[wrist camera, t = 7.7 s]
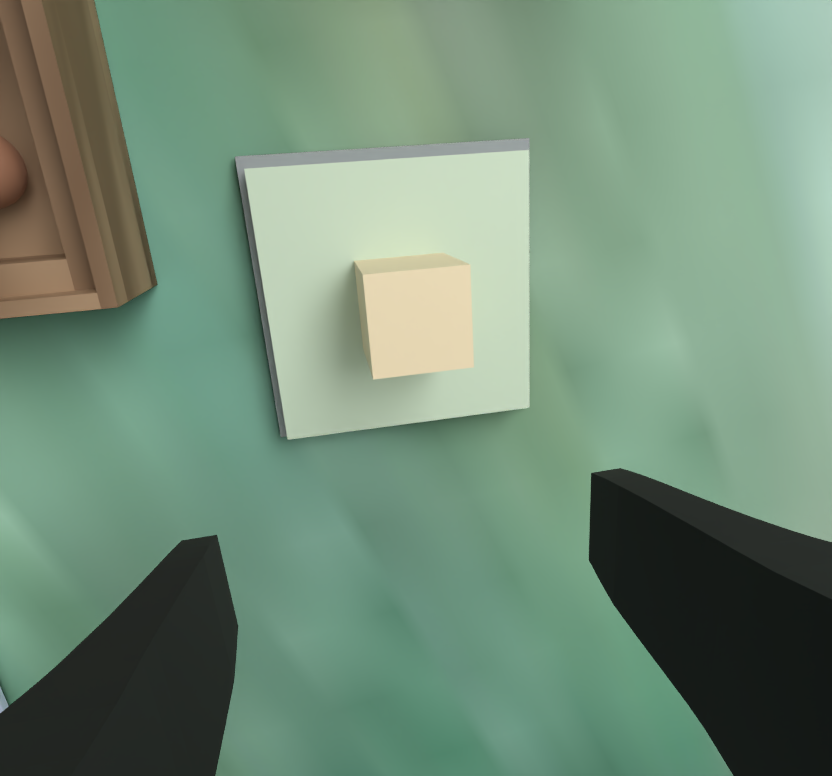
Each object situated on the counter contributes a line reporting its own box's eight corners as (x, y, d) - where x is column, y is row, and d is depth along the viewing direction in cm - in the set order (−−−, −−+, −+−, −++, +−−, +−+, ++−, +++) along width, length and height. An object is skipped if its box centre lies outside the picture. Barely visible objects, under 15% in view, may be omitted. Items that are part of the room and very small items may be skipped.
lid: (288, 430, 19) (282, 486, 16) (247, 170, 17) (228, 162, 13) (521, 400, 21) (567, 445, 17) (519, 151, 18) (574, 140, 14)
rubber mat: (281, 432, 20) (280, 437, 19) (236, 157, 17) (234, 156, 16) (525, 400, 21) (529, 404, 21) (524, 139, 18) (529, 138, 18)
